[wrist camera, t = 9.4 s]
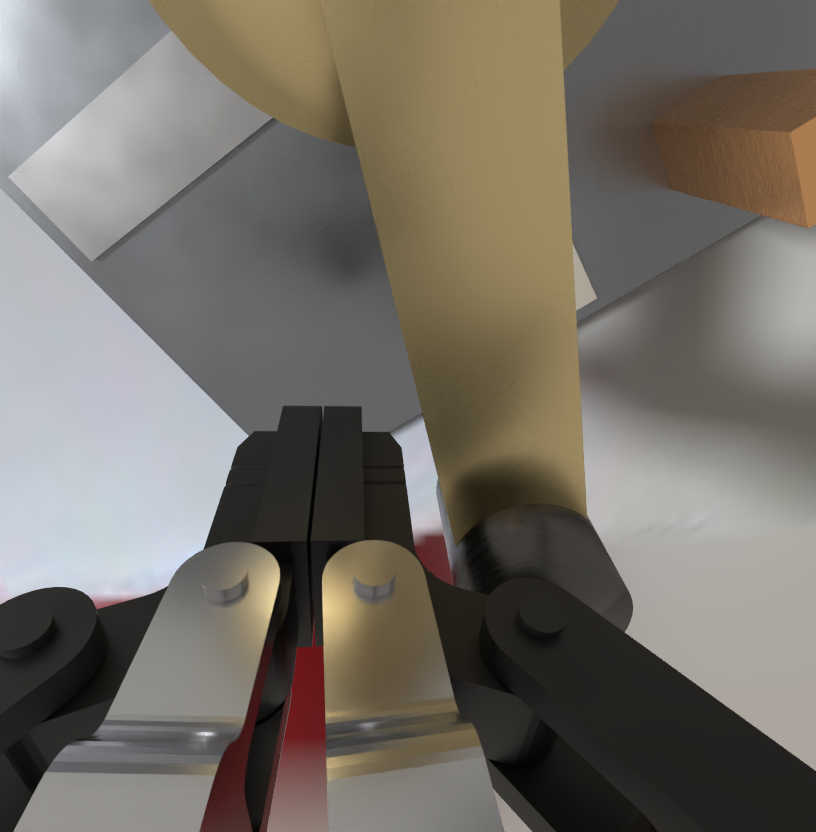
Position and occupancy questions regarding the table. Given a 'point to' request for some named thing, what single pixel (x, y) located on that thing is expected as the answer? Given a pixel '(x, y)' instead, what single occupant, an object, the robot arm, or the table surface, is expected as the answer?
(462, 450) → the brass lever handle
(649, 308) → the table surface
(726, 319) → the table surface
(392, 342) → the lock base
